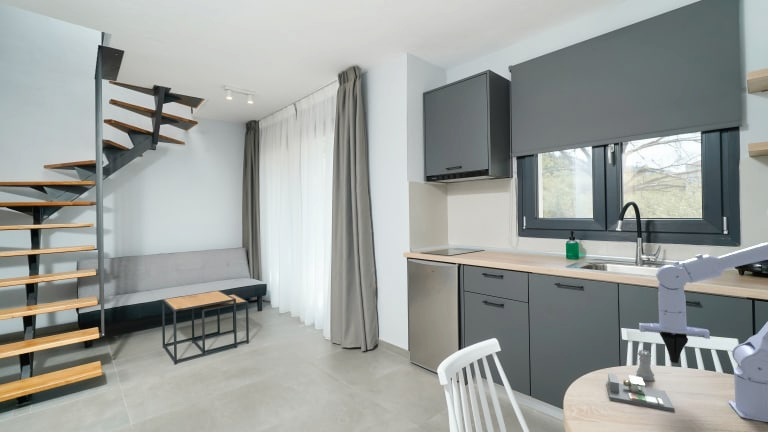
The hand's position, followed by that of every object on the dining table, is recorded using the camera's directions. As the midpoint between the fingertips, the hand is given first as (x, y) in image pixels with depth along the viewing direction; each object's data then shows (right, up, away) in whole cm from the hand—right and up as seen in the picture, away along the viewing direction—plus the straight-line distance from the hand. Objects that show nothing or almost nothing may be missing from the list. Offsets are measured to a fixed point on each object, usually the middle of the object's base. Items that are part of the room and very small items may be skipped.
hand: (674, 361), depth 94 cm
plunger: (-10, -9, +1) cm, 13 cm away
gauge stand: (-9, -10, 0) cm, 13 cm away
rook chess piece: (+1, -10, +11) cm, 15 cm away
